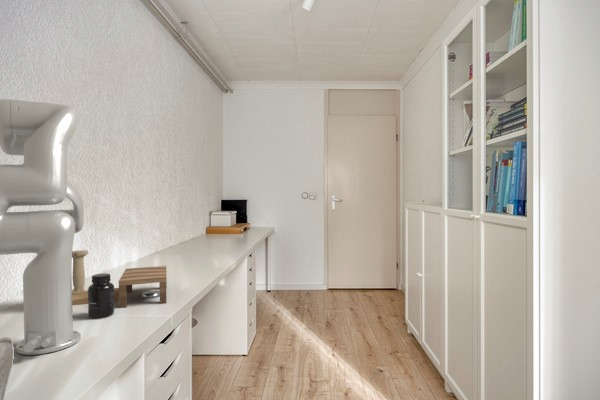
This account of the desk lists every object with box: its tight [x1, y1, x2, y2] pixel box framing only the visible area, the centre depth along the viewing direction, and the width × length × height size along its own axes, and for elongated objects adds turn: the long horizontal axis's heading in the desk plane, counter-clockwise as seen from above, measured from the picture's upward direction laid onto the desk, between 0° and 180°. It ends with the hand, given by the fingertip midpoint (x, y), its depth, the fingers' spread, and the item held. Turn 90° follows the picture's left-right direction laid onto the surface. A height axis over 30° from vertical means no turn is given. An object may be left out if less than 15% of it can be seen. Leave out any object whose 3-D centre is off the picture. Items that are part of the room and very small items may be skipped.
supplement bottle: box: [87, 273, 115, 319], centre depth 109 cm, size 7×7×12 cm
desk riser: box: [118, 265, 168, 309], centre depth 128 cm, size 22×14×8 cm, turn 20°
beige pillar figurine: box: [72, 249, 89, 291], centre depth 138 cm, size 5×6×15 cm
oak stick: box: [72, 287, 119, 306], centre depth 122 cm, size 2×24×4 cm, turn 107°
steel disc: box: [141, 290, 160, 300], centre depth 129 cm, size 6×6×2 cm
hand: (53, 304), depth 119 cm, fingers closed on oak stick, 2 cm apart
